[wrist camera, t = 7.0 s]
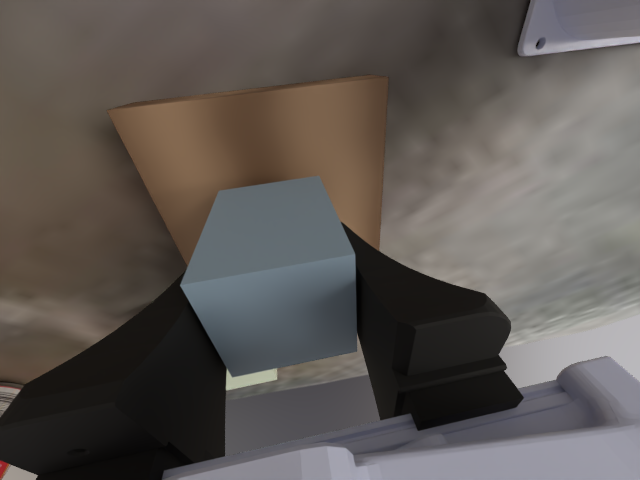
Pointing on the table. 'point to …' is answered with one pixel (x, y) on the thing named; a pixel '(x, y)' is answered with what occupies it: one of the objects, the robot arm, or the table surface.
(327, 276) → the slate block
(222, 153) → the walnut block
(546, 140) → the table surface
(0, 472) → the beverage can
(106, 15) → the table surface
